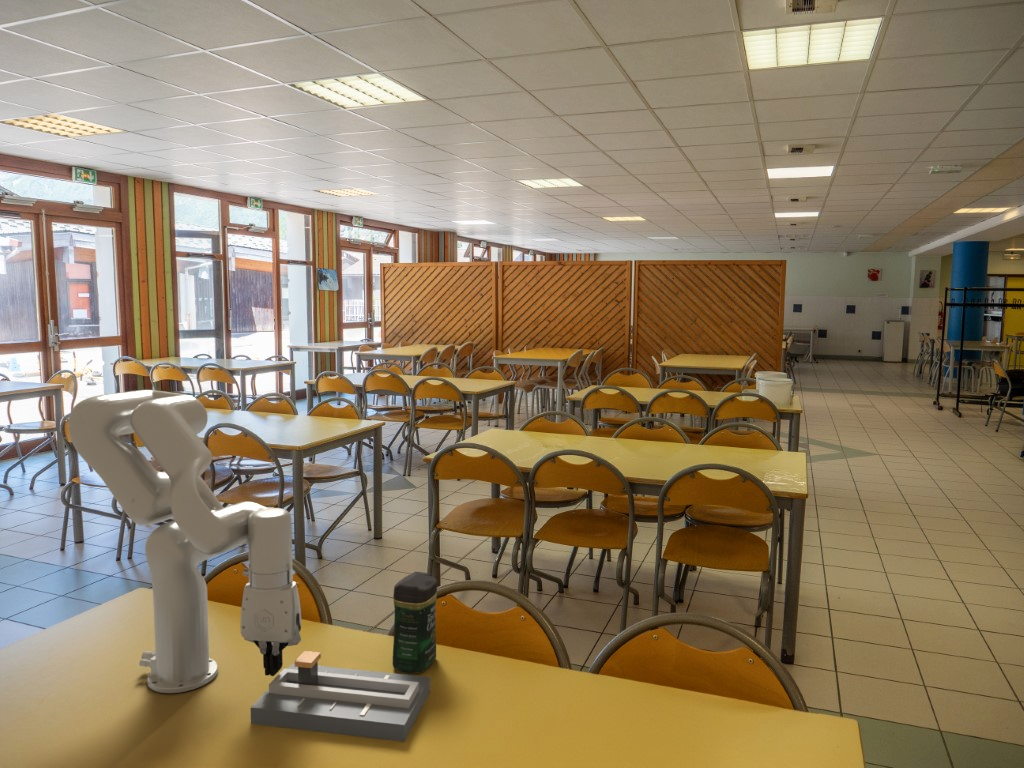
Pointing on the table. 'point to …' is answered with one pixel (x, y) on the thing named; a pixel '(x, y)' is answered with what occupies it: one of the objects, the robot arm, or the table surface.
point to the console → (344, 702)
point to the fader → (308, 668)
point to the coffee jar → (415, 623)
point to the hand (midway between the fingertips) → (273, 672)
